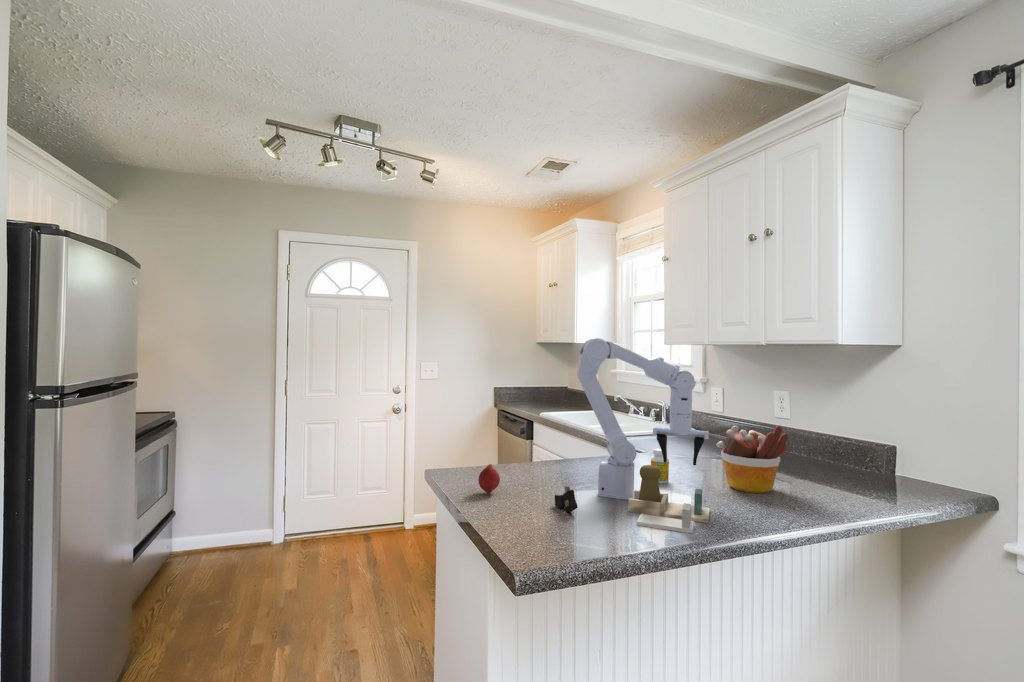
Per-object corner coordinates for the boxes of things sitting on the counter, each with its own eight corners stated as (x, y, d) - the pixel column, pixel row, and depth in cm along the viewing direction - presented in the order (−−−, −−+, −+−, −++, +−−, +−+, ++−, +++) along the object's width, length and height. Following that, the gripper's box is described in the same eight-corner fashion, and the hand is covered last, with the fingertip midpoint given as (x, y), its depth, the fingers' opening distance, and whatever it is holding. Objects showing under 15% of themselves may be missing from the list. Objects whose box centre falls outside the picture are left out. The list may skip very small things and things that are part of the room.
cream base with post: (636, 524, 115) (637, 503, 115) (640, 517, 121) (641, 497, 121) (692, 533, 111) (693, 511, 111) (694, 525, 116) (694, 504, 116)
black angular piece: (555, 518, 127) (550, 496, 130) (563, 517, 128) (558, 495, 131) (569, 508, 120) (564, 484, 123) (578, 507, 121) (572, 483, 124)
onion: (489, 497, 134) (490, 467, 134) (473, 493, 138) (474, 464, 138) (503, 493, 139) (504, 463, 139) (487, 489, 142) (488, 460, 143)
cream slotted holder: (628, 511, 125) (628, 487, 125) (634, 501, 134) (635, 479, 134) (708, 523, 118) (709, 498, 118) (709, 511, 127) (710, 487, 127)
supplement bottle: (656, 483, 153) (657, 451, 154) (647, 479, 159) (647, 448, 159) (672, 483, 155) (672, 451, 155) (662, 478, 160) (662, 447, 160)
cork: (659, 506, 130) (659, 463, 131) (664, 514, 124) (665, 469, 125) (635, 505, 131) (636, 462, 131) (639, 512, 125) (640, 468, 125)
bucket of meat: (705, 482, 156) (706, 418, 157) (743, 478, 163) (744, 416, 163) (760, 501, 138) (762, 427, 138) (801, 495, 145) (802, 425, 145)
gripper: (651, 413, 139) (650, 463, 139) (708, 417, 133) (707, 469, 133) (655, 410, 145) (654, 458, 145) (709, 414, 140) (708, 463, 140)
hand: (679, 463), depth 139 cm, fingers open, 7 cm apart
